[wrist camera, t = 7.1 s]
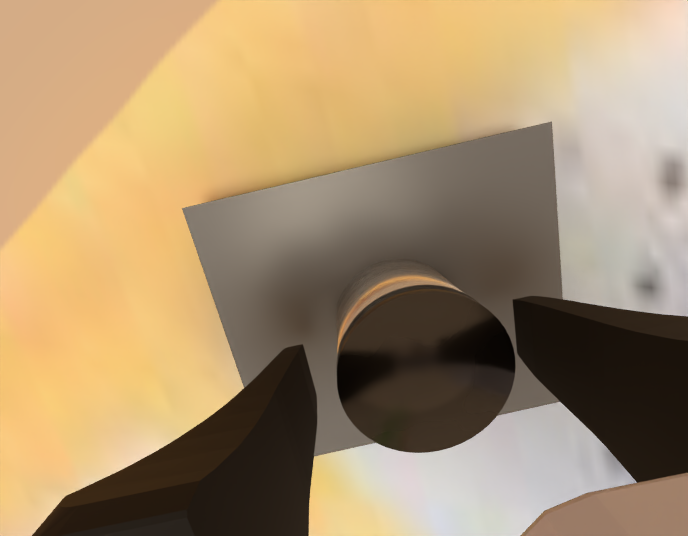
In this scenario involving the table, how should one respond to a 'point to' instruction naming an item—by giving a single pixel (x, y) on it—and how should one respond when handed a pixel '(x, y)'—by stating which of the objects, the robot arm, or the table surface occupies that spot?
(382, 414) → the tea tin
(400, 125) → the table surface
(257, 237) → the grey flat block
